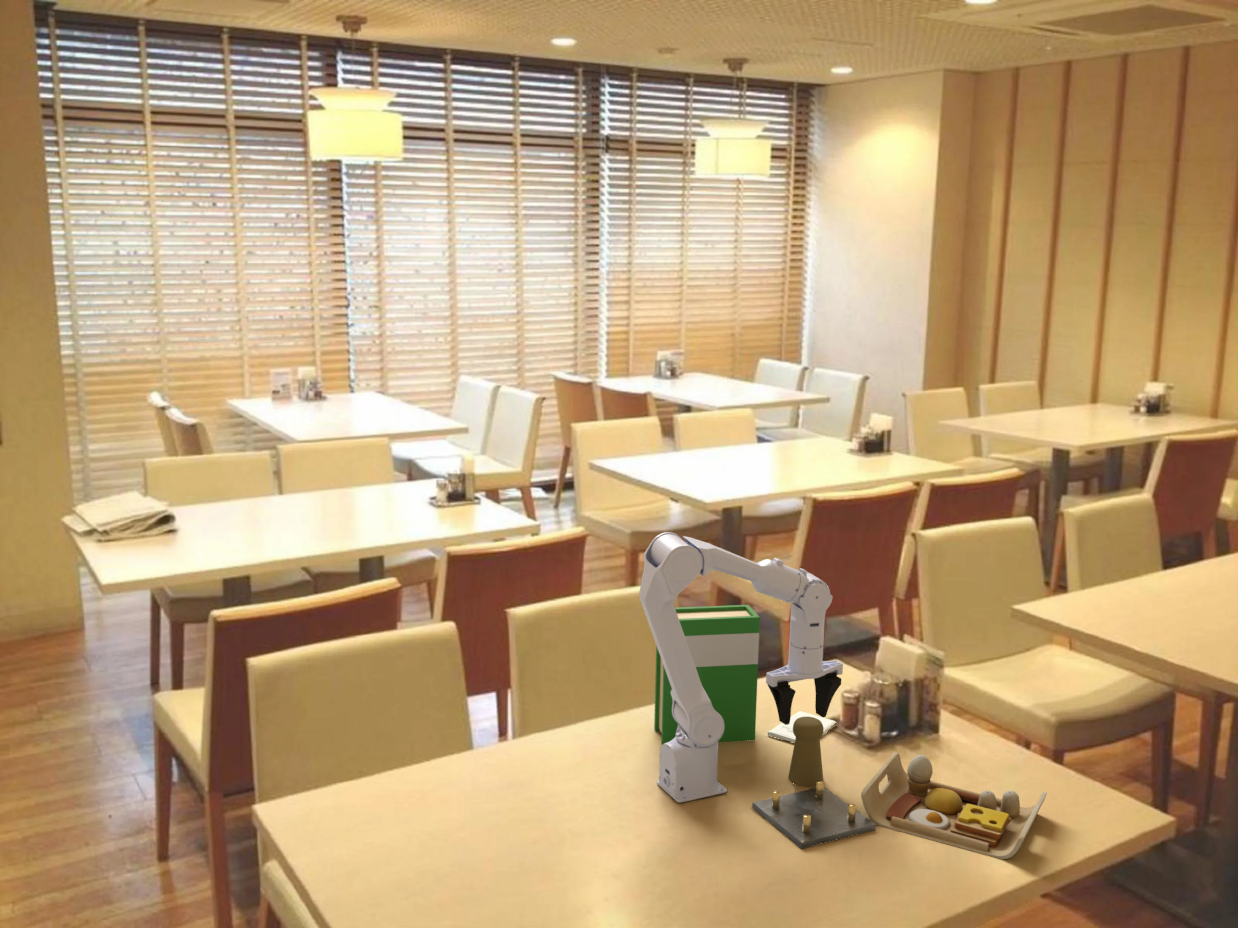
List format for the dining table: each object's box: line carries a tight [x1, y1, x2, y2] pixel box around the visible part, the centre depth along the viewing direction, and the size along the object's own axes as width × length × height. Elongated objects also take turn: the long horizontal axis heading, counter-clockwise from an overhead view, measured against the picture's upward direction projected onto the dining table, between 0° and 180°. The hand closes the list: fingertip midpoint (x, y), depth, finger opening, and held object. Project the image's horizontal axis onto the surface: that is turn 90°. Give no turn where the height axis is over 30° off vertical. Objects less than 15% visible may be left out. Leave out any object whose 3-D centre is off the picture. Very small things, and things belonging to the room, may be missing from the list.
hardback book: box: [653, 604, 761, 746], centre depth 209 cm, size 18×7×24 cm, turn 100°
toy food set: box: [860, 751, 1048, 860], centre depth 180 cm, size 25×18×8 cm
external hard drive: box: [767, 710, 837, 743], centre depth 213 cm, size 2×8×12 cm
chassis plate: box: [752, 780, 877, 850], centre depth 179 cm, size 14×14×4 cm
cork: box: [787, 716, 824, 788], centre depth 192 cm, size 6×6×11 cm
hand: (802, 718), depth 193 cm, fingers open, 7 cm apart
